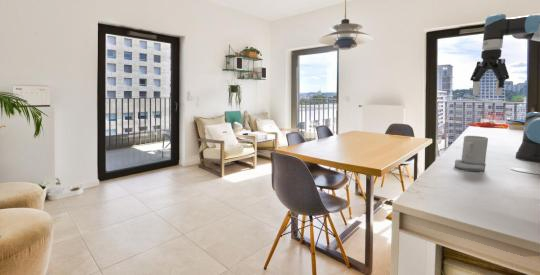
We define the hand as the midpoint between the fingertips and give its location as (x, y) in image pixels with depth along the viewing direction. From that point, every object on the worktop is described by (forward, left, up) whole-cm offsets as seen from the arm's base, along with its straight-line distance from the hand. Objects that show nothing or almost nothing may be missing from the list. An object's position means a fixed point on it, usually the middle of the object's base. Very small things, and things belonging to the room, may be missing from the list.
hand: (486, 94), depth 138 cm
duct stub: (+19, +18, -32) cm, 41 cm away
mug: (+19, +19, -29) cm, 39 cm away
